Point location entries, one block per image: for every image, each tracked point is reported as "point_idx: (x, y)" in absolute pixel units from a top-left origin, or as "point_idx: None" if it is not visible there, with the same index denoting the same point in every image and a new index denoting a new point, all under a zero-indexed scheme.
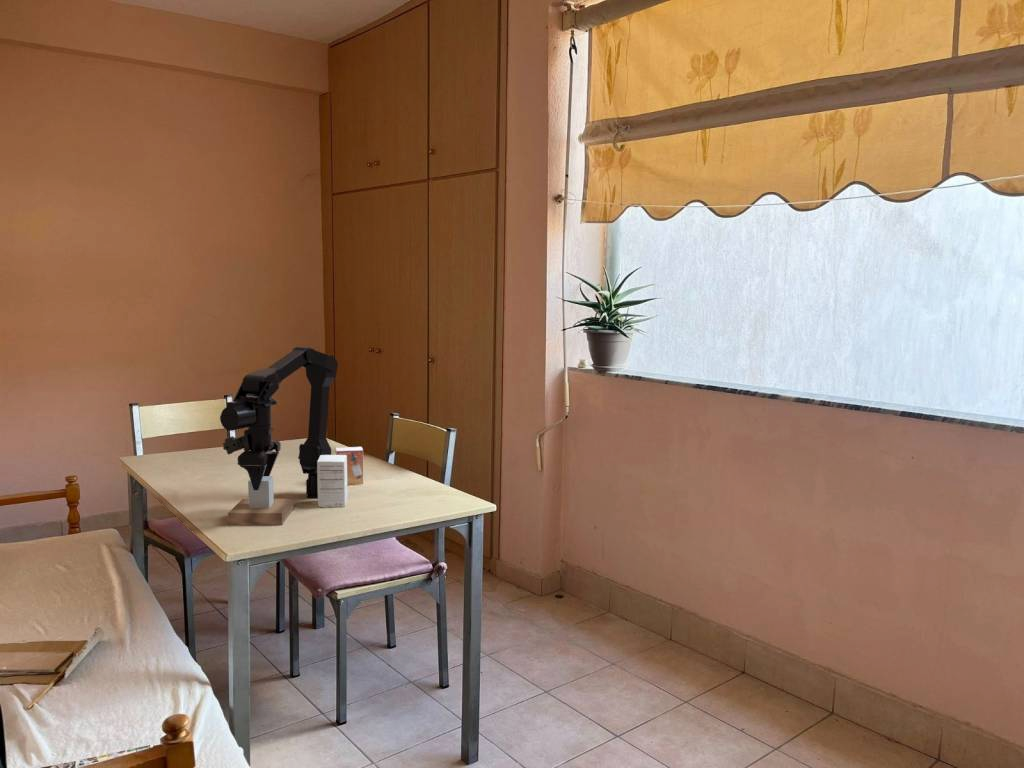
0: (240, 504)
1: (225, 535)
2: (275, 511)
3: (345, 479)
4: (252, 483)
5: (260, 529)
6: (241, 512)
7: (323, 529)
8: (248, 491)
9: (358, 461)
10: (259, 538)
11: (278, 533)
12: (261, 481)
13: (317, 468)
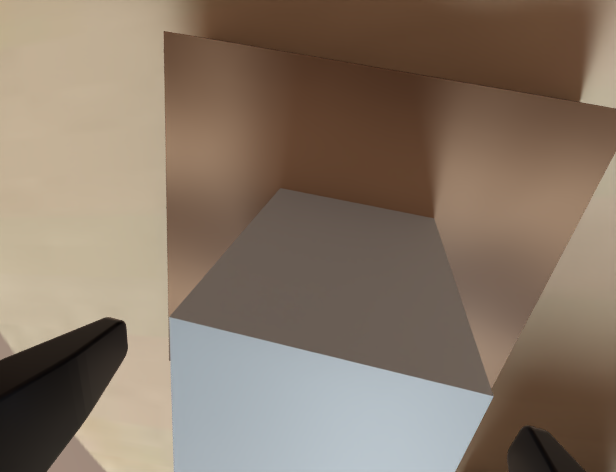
0: (417, 112)
1: (22, 53)
2: None
3: None
4: (16, 362)
5: (134, 229)
6: (181, 141)
7: (144, 434)
8: (233, 245)
9: None
10: (13, 226)
11: (85, 299)
12: (176, 443)
13: None
